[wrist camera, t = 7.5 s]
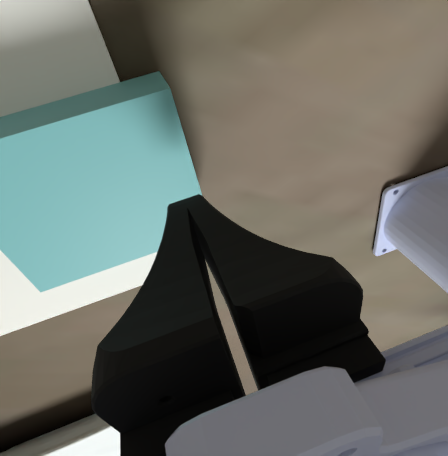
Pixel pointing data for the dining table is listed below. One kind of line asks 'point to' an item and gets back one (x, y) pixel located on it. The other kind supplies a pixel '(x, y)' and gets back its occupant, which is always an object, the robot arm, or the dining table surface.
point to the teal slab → (91, 180)
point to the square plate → (73, 441)
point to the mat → (39, 95)
